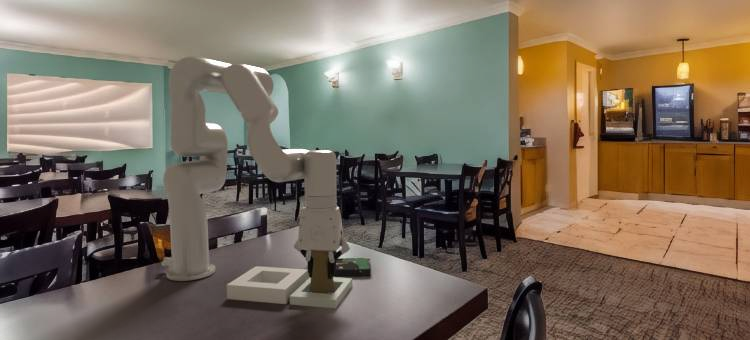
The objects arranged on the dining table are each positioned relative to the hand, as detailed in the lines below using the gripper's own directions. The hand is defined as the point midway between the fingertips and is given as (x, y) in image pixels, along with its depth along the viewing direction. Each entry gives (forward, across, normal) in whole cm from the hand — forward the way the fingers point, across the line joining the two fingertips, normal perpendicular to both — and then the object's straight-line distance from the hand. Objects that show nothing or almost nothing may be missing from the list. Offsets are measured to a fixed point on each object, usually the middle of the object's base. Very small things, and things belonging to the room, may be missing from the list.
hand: (322, 275), depth 100 cm
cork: (+3, 0, 0) cm, 3 cm away
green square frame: (+5, 0, 0) cm, 5 cm away
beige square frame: (+5, -14, 0) cm, 15 cm away
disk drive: (+5, 0, +18) cm, 19 cm away
